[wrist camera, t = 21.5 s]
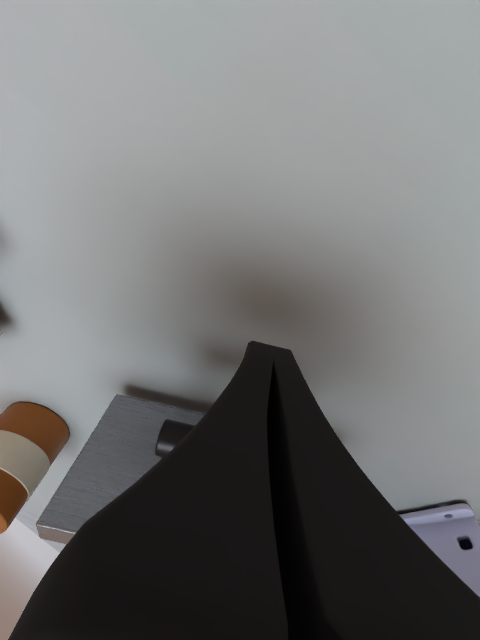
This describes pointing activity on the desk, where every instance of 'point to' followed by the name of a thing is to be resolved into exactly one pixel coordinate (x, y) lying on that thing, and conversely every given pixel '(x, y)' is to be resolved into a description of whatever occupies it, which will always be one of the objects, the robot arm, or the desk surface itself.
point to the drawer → (113, 461)
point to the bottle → (26, 453)
